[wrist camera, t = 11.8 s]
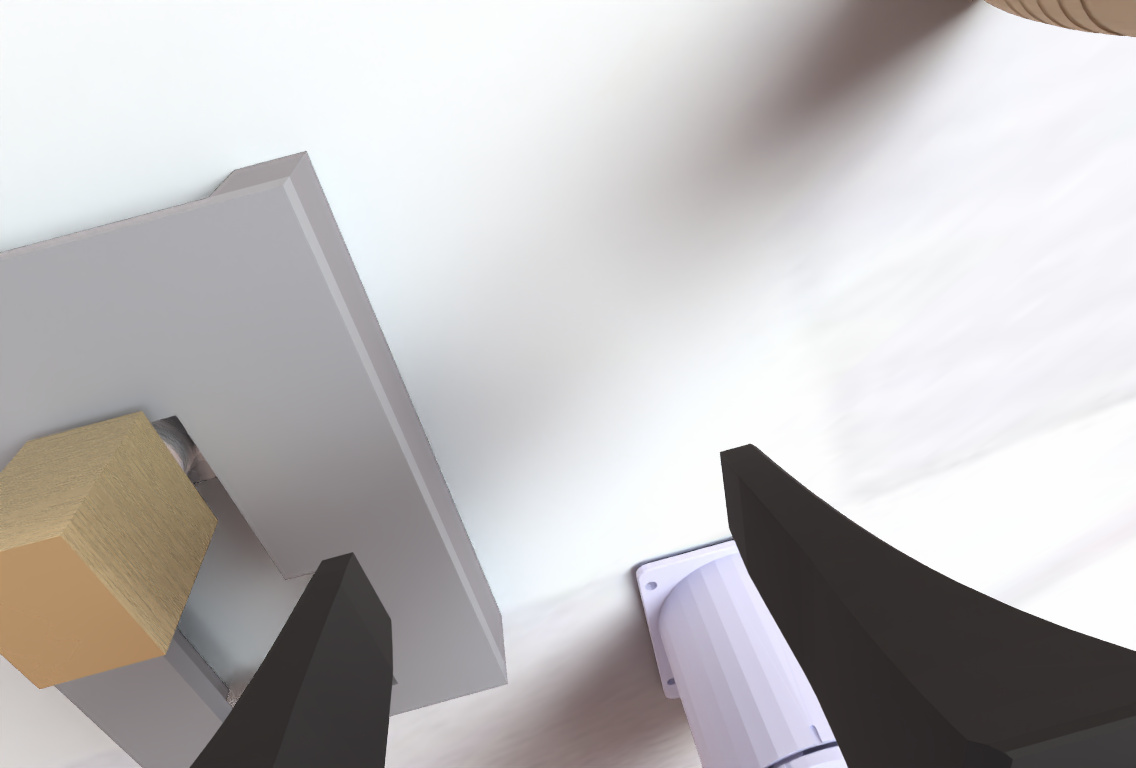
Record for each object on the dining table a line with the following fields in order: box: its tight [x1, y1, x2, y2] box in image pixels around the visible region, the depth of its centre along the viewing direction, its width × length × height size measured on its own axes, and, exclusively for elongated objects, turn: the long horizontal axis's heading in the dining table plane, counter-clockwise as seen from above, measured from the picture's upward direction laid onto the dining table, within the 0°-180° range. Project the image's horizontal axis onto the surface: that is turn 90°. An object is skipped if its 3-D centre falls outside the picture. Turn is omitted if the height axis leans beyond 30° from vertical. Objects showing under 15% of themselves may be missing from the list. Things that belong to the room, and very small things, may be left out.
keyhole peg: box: [0, 411, 218, 689], centre depth 18 cm, size 5×5×8 cm
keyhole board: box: [0, 151, 508, 768], centre depth 23 cm, size 20×14×3 cm
